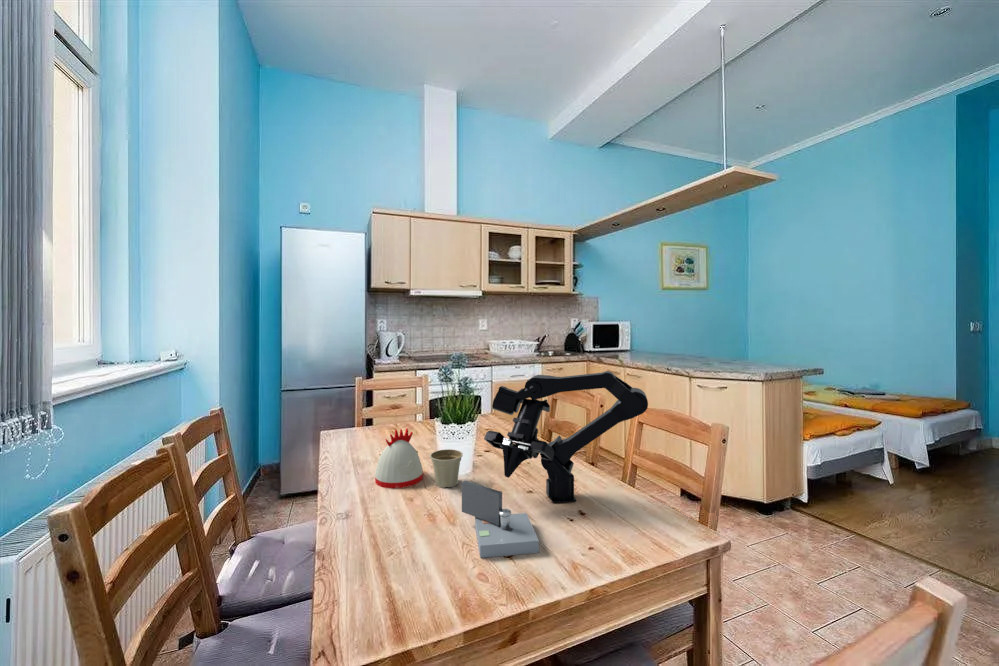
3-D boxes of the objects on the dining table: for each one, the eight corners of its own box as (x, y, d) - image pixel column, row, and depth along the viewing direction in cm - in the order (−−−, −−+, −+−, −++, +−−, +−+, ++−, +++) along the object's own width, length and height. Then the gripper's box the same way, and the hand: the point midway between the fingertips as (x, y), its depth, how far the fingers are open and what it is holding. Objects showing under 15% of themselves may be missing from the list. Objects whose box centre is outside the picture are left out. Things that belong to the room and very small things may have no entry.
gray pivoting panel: (513, 525, 88) (513, 493, 87) (506, 531, 86) (506, 497, 85) (467, 509, 96) (466, 479, 95) (459, 513, 94) (459, 483, 93)
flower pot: (457, 491, 112) (457, 461, 112) (425, 489, 114) (424, 458, 113) (466, 478, 121) (466, 450, 121) (437, 476, 123) (436, 448, 123)
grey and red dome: (430, 481, 119) (429, 431, 119) (383, 492, 112) (382, 438, 111) (412, 467, 131) (412, 421, 130) (369, 476, 123) (368, 427, 123)
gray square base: (526, 523, 94) (526, 512, 94) (538, 552, 82) (538, 539, 82) (475, 527, 93) (475, 516, 93) (480, 558, 81) (480, 544, 81)
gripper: (569, 438, 108) (552, 497, 101) (512, 428, 119) (492, 479, 112) (553, 419, 101) (533, 481, 93) (494, 410, 112) (471, 464, 105)
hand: (506, 476), depth 101 cm, fingers closed
